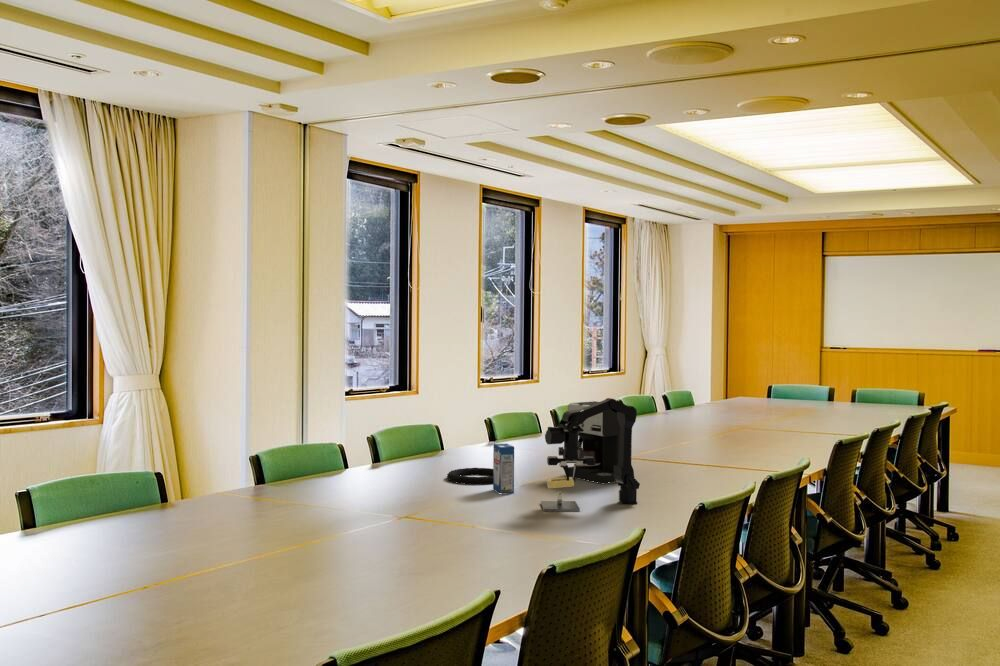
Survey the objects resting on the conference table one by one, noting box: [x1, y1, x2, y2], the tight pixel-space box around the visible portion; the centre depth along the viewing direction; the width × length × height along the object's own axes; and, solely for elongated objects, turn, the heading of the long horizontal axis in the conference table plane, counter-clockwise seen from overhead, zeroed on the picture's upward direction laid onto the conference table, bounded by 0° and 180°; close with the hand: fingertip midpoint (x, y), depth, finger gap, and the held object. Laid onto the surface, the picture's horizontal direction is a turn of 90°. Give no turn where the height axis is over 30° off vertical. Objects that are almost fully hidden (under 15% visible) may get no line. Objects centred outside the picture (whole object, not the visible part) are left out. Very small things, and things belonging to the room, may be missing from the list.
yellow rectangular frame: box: [546, 477, 575, 489], centre depth 341 cm, size 10×6×2 cm, turn 92°
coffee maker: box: [567, 400, 633, 484], centre depth 406 cm, size 28×20×35 cm
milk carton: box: [492, 443, 515, 494], centre depth 371 cm, size 10×6×20 cm, turn 18°
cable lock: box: [446, 467, 493, 485], centre depth 399 cm, size 28×4×30 cm
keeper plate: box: [540, 491, 581, 512], centre depth 341 cm, size 14×14×6 cm
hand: (570, 482), depth 341 cm, fingers closed on yellow rectangular frame, 2 cm apart
